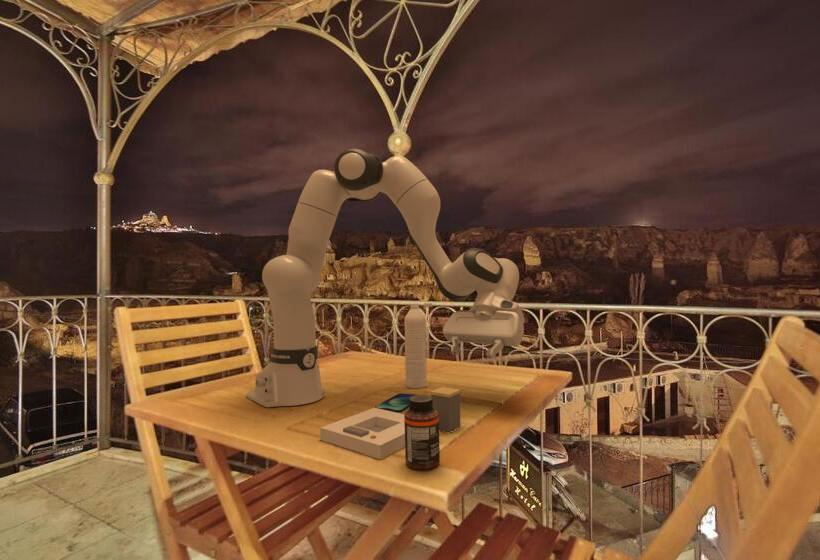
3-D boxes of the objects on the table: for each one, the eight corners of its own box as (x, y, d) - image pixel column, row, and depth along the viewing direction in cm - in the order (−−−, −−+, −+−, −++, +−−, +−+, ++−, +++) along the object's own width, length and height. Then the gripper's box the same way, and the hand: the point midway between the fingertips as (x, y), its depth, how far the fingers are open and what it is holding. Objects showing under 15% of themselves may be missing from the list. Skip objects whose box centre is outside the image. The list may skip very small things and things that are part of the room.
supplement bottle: (412, 454, 75) (411, 391, 75) (444, 459, 73) (442, 394, 73) (399, 468, 69) (398, 400, 69) (433, 473, 67) (432, 404, 67)
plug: (431, 429, 88) (430, 391, 88) (443, 423, 91) (442, 386, 91) (449, 433, 85) (448, 394, 85) (461, 427, 89) (460, 389, 89)
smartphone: (424, 395, 113) (400, 410, 99) (424, 398, 113) (400, 414, 99) (399, 393, 116) (373, 407, 102) (399, 396, 116) (373, 411, 102)
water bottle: (402, 388, 123) (401, 303, 123) (408, 383, 129) (407, 302, 129) (431, 389, 120) (430, 303, 121) (436, 384, 127) (434, 302, 127)
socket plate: (320, 440, 83) (320, 424, 83) (374, 418, 95) (374, 405, 95) (380, 459, 73) (380, 442, 73) (431, 432, 86) (431, 417, 86)
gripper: (449, 302, 110) (429, 343, 102) (523, 303, 98) (507, 350, 90) (458, 317, 113) (440, 359, 106) (531, 320, 101) (516, 367, 93)
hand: (471, 355), depth 98 cm, fingers open, 8 cm apart
